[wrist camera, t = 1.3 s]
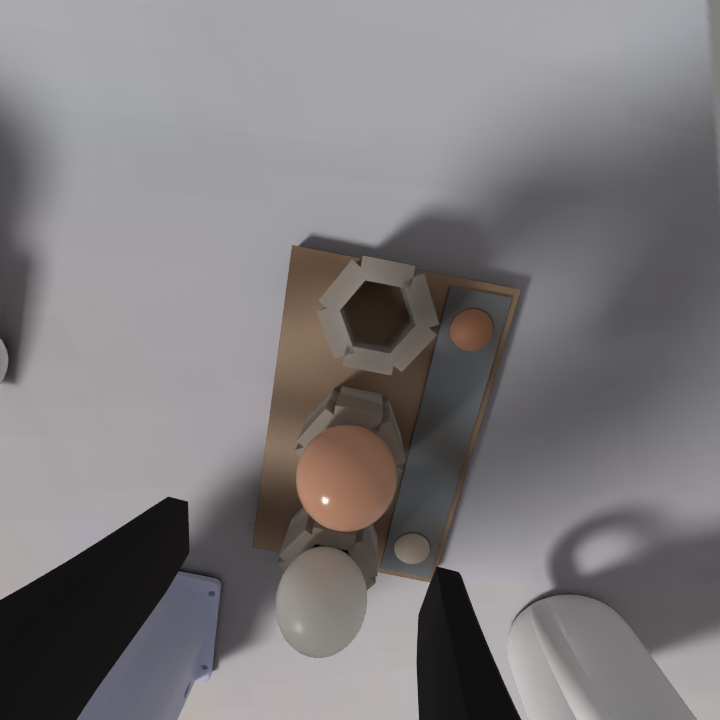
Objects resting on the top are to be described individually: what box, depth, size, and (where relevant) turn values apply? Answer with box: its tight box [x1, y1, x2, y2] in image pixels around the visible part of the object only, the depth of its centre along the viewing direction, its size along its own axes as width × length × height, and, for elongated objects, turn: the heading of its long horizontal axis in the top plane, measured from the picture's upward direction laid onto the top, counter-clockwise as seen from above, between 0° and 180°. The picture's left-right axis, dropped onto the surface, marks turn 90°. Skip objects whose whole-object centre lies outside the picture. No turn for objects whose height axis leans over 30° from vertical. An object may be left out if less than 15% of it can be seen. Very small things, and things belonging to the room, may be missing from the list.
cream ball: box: [276, 546, 367, 658], centre depth 17 cm, size 4×4×4 cm
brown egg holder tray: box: [252, 245, 521, 590], centre depth 19 cm, size 19×12×4 cm, turn 169°
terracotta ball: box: [296, 425, 397, 532], centre depth 15 cm, size 4×4×4 cm
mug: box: [507, 594, 697, 720], centre depth 18 cm, size 12×8×10 cm
